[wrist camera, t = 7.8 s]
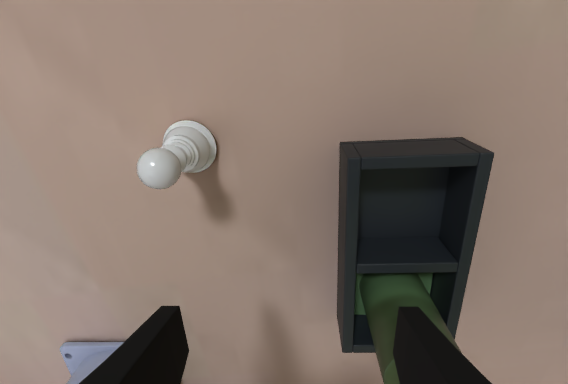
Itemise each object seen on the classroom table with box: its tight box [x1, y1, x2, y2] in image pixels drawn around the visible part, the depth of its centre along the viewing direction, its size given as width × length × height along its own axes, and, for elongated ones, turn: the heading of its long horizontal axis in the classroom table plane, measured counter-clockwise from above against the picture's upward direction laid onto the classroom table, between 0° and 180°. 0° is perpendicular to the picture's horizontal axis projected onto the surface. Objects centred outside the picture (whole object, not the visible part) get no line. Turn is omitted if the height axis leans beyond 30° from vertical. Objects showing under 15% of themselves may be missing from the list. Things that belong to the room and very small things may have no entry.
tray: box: [337, 137, 494, 353], centre depth 17 cm, size 6×12×3 cm, turn 3°
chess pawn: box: [137, 120, 216, 189], centre depth 14 cm, size 3×3×5 cm
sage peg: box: [359, 273, 461, 384], centre depth 16 cm, size 4×4×6 cm
